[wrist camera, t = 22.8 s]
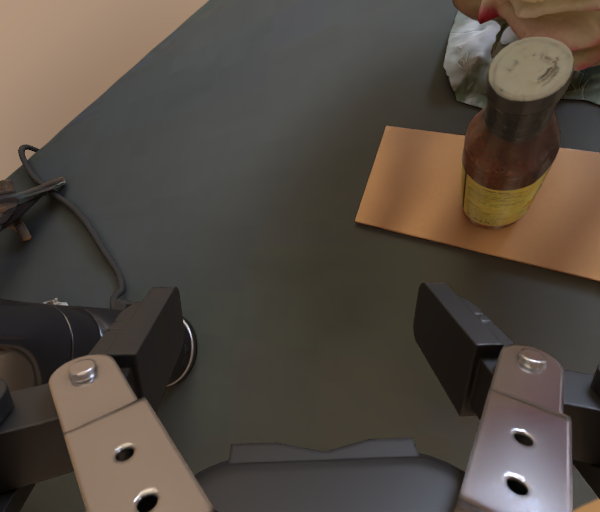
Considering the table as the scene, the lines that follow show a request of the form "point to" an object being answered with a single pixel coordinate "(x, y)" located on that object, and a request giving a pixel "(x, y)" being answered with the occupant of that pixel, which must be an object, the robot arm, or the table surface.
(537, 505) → the robot arm
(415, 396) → the table surface
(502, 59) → the sauce bottle
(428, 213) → the flat copper plate
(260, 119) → the table surface
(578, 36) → the rose bouquet
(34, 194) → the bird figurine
